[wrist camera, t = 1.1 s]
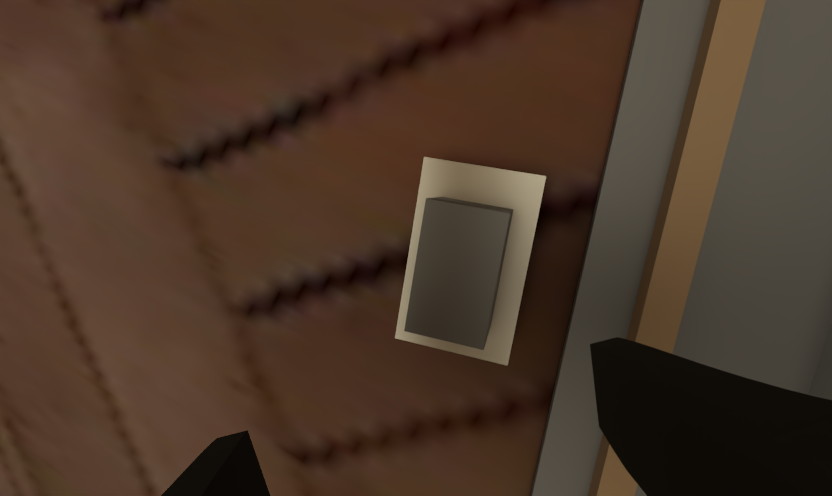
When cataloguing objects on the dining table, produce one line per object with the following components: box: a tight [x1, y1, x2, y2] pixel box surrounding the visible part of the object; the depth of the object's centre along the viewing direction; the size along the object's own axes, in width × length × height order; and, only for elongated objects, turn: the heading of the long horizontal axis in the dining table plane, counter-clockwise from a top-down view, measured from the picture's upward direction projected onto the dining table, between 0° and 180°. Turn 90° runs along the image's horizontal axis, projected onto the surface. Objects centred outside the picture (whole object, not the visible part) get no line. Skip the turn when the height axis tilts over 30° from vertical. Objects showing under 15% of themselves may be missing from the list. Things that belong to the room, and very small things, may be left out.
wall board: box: [530, 0, 832, 496], centre depth 19 cm, size 13×28×6 cm, turn 170°
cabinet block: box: [395, 157, 546, 366], centre depth 20 cm, size 5×8×7 cm, turn 170°
